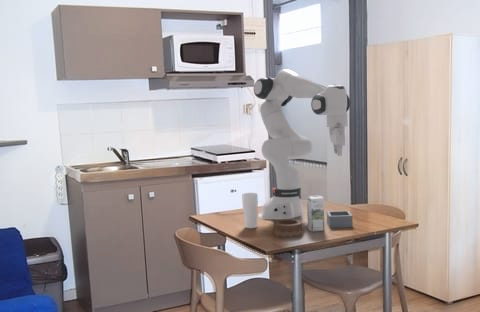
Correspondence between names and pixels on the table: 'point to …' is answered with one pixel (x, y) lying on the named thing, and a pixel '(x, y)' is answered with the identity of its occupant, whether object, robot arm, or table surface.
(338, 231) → the table surface
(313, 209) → the syrup box
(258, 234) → the table surface
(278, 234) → the walnut round socket
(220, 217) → the table surface
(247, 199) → the drinking glass
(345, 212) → the slate square socket
